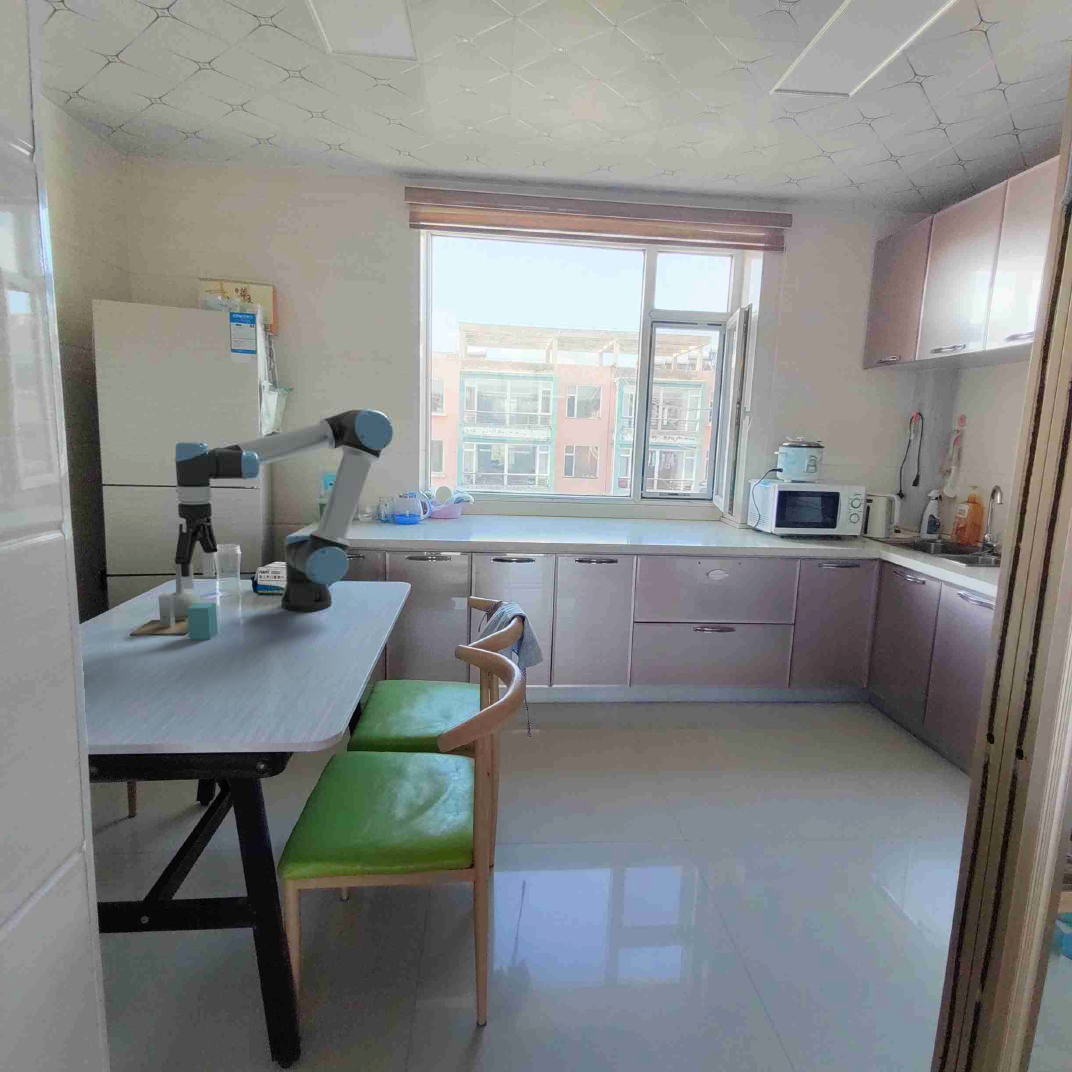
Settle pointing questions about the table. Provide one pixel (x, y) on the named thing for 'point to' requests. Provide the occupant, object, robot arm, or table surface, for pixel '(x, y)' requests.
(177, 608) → the potion bottle
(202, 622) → the teal boxy block
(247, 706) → the table surface
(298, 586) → the robot arm
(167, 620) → the post
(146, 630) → the board
